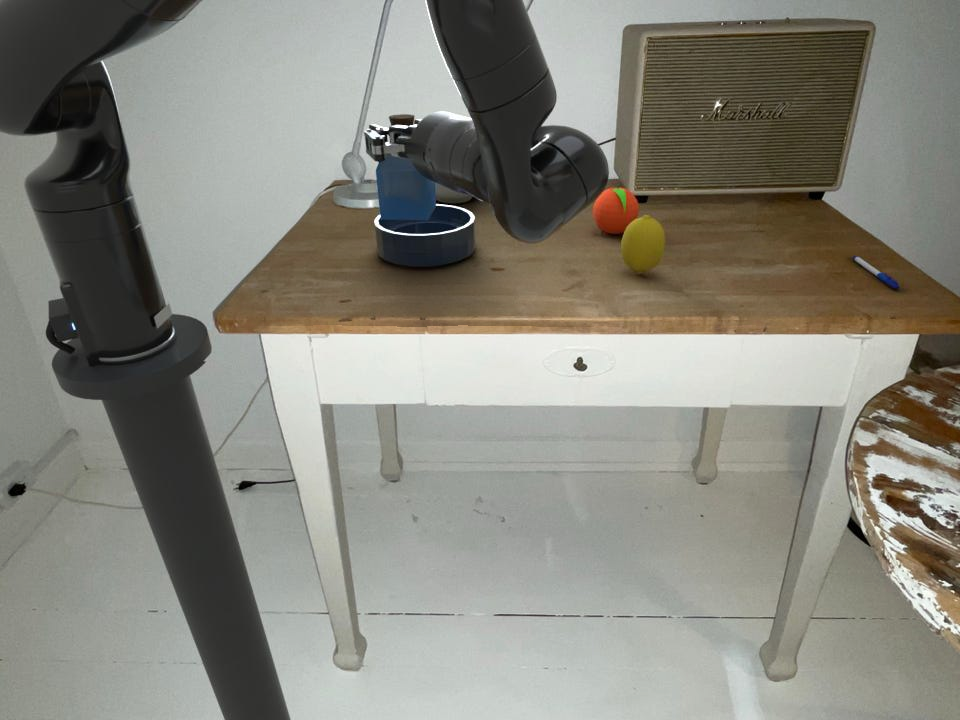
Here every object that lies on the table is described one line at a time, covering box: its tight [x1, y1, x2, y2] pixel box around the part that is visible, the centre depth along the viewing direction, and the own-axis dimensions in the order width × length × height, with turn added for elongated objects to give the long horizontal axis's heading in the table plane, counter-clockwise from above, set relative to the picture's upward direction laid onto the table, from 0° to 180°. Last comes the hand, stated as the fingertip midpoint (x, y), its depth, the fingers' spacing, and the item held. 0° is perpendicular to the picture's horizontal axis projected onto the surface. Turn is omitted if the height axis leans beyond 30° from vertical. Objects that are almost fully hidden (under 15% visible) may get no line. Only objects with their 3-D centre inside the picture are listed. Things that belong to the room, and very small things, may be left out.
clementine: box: [592, 186, 640, 235], centre depth 96 cm, size 8×7×7 cm
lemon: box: [620, 214, 666, 275], centre depth 82 cm, size 6×6×8 cm
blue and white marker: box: [852, 255, 900, 290], centre depth 82 cm, size 10×1×1 cm, turn 1°
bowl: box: [373, 203, 477, 268], centre depth 91 cm, size 14×14×5 cm
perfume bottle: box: [375, 113, 437, 220], centre depth 80 cm, size 6×6×12 cm
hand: (394, 130), depth 80 cm, fingers closed on perfume bottle, 5 cm apart
